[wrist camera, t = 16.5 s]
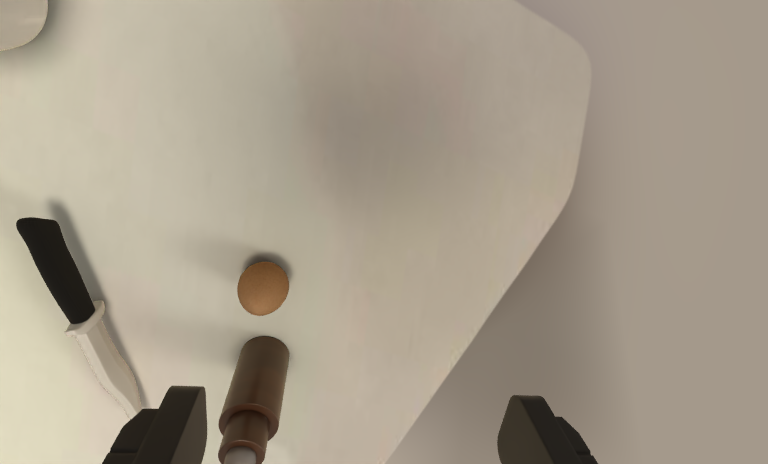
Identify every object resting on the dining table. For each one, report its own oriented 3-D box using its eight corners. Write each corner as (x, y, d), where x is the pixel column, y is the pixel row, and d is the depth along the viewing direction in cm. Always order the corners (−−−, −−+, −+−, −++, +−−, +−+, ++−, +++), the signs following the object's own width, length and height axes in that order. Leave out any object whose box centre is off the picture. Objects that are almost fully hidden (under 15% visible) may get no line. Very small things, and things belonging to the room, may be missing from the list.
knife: (158, 413, 46) (138, 453, 41) (142, 415, 46) (120, 456, 41) (67, 199, 36) (27, 221, 31) (46, 201, 35) (3, 224, 31)
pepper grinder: (266, 327, 43) (237, 440, 30) (299, 356, 45) (284, 473, 32) (230, 354, 44) (188, 474, 31) (264, 381, 45) (237, 504, 33)
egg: (287, 249, 39) (279, 282, 34) (294, 290, 41) (288, 326, 36) (240, 254, 39) (224, 287, 34) (249, 294, 41) (235, 332, 36)
